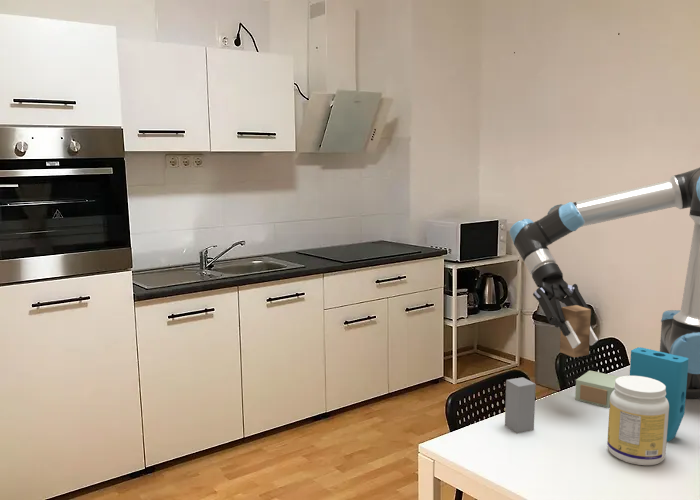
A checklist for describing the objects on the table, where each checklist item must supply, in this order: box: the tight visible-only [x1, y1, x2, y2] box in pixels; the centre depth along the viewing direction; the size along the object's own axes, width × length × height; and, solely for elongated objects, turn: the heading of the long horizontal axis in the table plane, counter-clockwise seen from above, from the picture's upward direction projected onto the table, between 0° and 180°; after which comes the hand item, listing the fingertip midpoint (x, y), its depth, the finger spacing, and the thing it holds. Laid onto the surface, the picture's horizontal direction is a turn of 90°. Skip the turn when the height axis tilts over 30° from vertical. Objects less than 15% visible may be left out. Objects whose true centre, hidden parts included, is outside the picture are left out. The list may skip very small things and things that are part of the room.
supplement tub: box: [606, 375, 669, 466], centre depth 141 cm, size 12×12×17 cm
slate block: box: [504, 377, 537, 434], centre depth 156 cm, size 5×5×12 cm
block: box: [629, 347, 689, 443], centre depth 152 cm, size 12×5×20 cm, turn 40°
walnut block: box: [559, 305, 592, 358], centre depth 162 cm, size 5×5×12 cm
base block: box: [574, 370, 619, 409], centre depth 175 cm, size 10×10×6 cm
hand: (585, 344), depth 159 cm, fingers closed on walnut block, 5 cm apart
